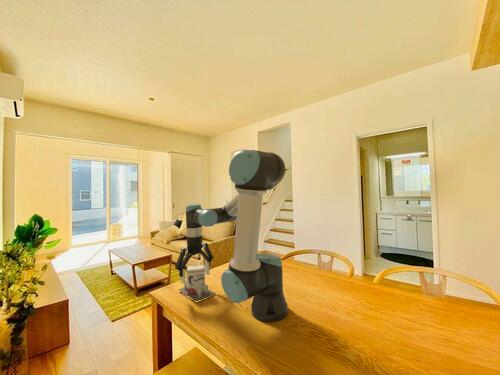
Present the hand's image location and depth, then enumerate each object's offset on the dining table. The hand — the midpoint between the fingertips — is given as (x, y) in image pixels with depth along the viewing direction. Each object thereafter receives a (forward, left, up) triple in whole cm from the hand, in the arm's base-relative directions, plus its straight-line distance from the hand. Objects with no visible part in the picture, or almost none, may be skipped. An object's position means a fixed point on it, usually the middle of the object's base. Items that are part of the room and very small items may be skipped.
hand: (195, 278), depth 106 cm
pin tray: (0, 0, -7) cm, 7 cm away
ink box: (0, 0, -7) cm, 7 cm away
